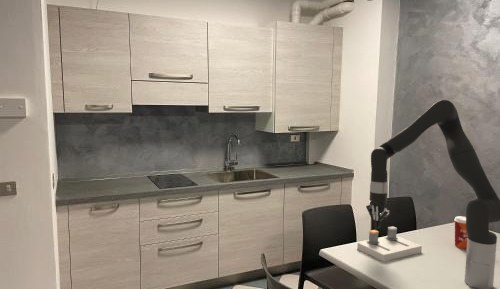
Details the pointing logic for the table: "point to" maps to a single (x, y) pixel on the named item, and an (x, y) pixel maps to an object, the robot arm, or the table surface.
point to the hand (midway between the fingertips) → (377, 227)
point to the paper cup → (460, 232)
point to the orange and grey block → (373, 237)
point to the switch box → (390, 248)
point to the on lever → (392, 233)
